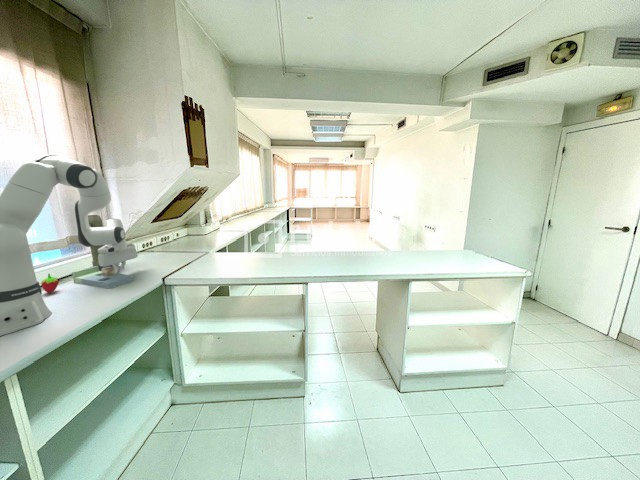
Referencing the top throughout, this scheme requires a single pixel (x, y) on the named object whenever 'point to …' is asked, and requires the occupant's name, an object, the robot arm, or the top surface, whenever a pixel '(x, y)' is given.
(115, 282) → the trap board
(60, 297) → the top surface
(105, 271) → the beech block
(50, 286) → the strawberry
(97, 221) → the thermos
